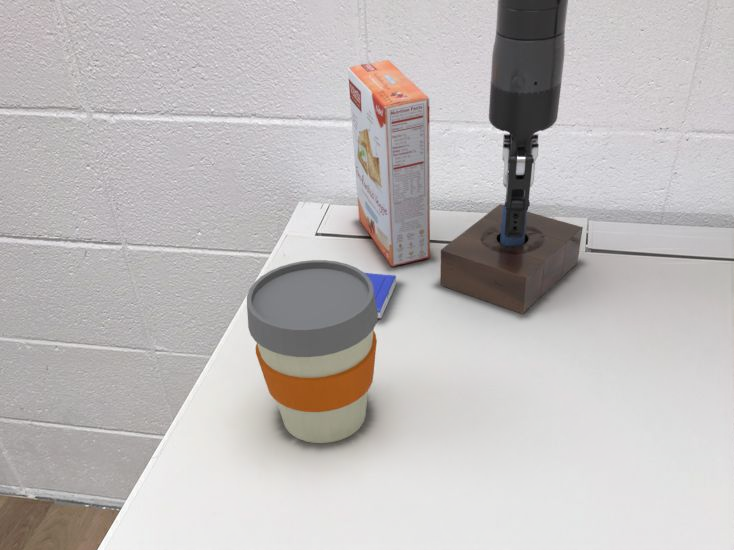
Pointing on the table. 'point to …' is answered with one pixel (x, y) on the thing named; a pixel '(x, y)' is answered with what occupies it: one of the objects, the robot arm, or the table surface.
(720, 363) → the table surface
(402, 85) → the cracker box
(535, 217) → the walnut block
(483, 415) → the table surface
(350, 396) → the reusable coffee cup
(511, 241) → the peg
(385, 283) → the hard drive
